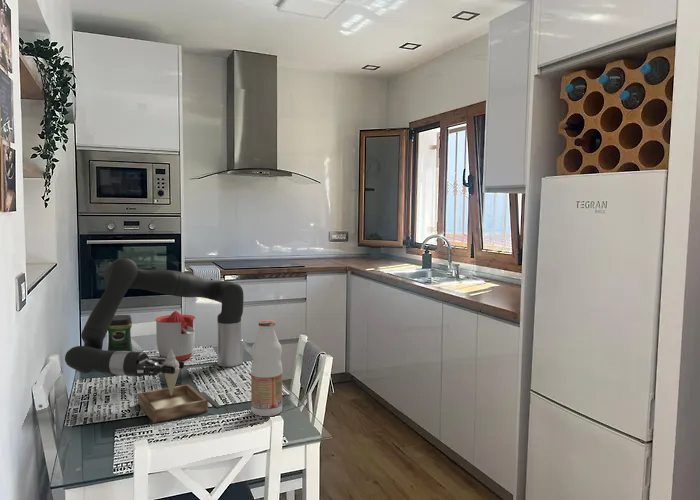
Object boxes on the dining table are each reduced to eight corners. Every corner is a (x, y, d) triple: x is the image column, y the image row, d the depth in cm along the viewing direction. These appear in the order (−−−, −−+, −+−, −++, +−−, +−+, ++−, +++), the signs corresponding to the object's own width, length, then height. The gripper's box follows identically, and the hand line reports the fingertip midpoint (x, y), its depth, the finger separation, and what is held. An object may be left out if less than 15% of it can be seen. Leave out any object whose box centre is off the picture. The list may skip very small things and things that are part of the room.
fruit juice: (256, 419, 153) (255, 325, 151) (247, 408, 161) (247, 319, 159) (286, 414, 157) (286, 323, 155) (276, 404, 165) (276, 317, 164)
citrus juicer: (175, 366, 204) (174, 316, 203) (148, 359, 214) (147, 311, 213) (206, 357, 218) (206, 310, 216) (179, 351, 227) (178, 306, 226)
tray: (202, 391, 176) (202, 381, 176) (222, 408, 161) (222, 397, 161) (138, 404, 164) (138, 393, 164) (153, 423, 149) (153, 411, 149)
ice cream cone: (165, 392, 163) (165, 345, 162) (181, 392, 164) (181, 345, 163) (160, 398, 158) (160, 349, 157) (177, 398, 159) (177, 349, 158)
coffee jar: (133, 356, 218) (133, 312, 217) (131, 361, 211) (131, 316, 210) (108, 358, 215) (107, 313, 214) (105, 363, 208) (104, 317, 207)
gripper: (114, 357, 156) (167, 361, 153) (141, 346, 170) (190, 349, 167) (115, 382, 156) (167, 386, 153) (142, 368, 170) (190, 372, 167)
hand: (179, 367), depth 160 cm, fingers closed on ice cream cone, 5 cm apart
